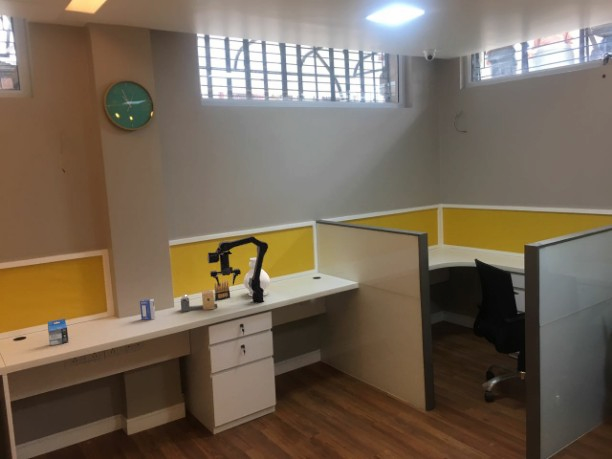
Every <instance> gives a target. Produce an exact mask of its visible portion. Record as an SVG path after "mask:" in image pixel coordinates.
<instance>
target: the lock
mask: <svg viewBox="0 0 612 459" xmlns="http://www.w3.org/2000/svg"><path fill="white" fill-rule="evenodd" d="M201 298H202V301H201V302H202V305H203V309H202V310H203V311H206V310H215V309H216V308H215V306H214V304H215V292H214V290H213V289H211V290H202V291H201Z"/></svg>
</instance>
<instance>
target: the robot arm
mask: <svg viewBox="0 0 612 459" xmlns="http://www.w3.org/2000/svg"><path fill="white" fill-rule="evenodd" d="M248 244H253V245H255V246H256V254H257V255H256V257H257V259H256V264H255V269H254V274H253V277H252V278H249V283H248V284H249V287H250V288H251V289H252V290H253V291H254V292H253V294H252V296H251V297H252V298H251V300H252V302H253V303H255V304H257V303H264V302H265V300H264V296H263V291H264V290H263V289H262V288H261V287H260V273H261V269H263V265H262V263H264V257H265V255H266V254H267V252H268V250H269V244H268V243H267V242H265V241H263V240H259V239H257V238H255V236H252V235H249V236H246V237H243V238H239V239H235V240H224V241H223V240H222V241H220V242H219V243H218V246H217V249H216V250H215V251H214V252H212V251H210V252H208V253H207V262H208V264H216V263H218V262H219V263H220V264H219V265H220V266H219V267H220V271H217V269H216V270H210V271H209V273H210V274H209V275H210V277H211V278H214V279H215V280H216V282H217V283H218V285H219V287H220V280H219V275H221V276H230V275H232V286H234V285H235V282H236V278H237V277H238V276H239V275H241V274H242V271H241V269H240V268H234V266H230V255H232V254H233V253H232V251H230V250H232V249H234V248H236V247H240V246H244V245H248ZM233 268H234V269H233ZM217 283H216V284H217Z"/></svg>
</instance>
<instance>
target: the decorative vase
mask: <svg viewBox="0 0 612 459" xmlns="http://www.w3.org/2000/svg"><path fill="white" fill-rule="evenodd" d="M256 259H257V256H255V257H250V258H249V262H248V267H250V269H249V270H248V271H247V273H246V274H245V276H244V279H243V285H244V286H245V288H246V289H247V290H248V291H249V293H248V294H247V295H248V296H250V297H252V294H253V292H254V291H253V290H252V289H251V288H250V287H249V284H248V283H249V278H252V277H253V274H254V269H255V264H256ZM263 263H264V262H263ZM263 263H262V266H263ZM270 283H271V278H270V276H269V275H268V273H267V272H266V271H265V270H264V269H263V268H261V273H260V287H261V288H262V289H263V290H264V291H263V297H264V296H266V295H267V291H266V290H267V289H268V287H269V285H270Z"/></svg>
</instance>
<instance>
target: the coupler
mask: <svg viewBox="0 0 612 459" xmlns="http://www.w3.org/2000/svg"><path fill="white" fill-rule="evenodd" d="M214 306H215V309H218V303H214ZM180 307H181V309H180V310H181V313H190V312H191V311H199V310H203V304H198V305H197V304H196V305H190V298H189V297H188V295H187V294H183V295H182V296H181V298H180Z"/></svg>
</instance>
